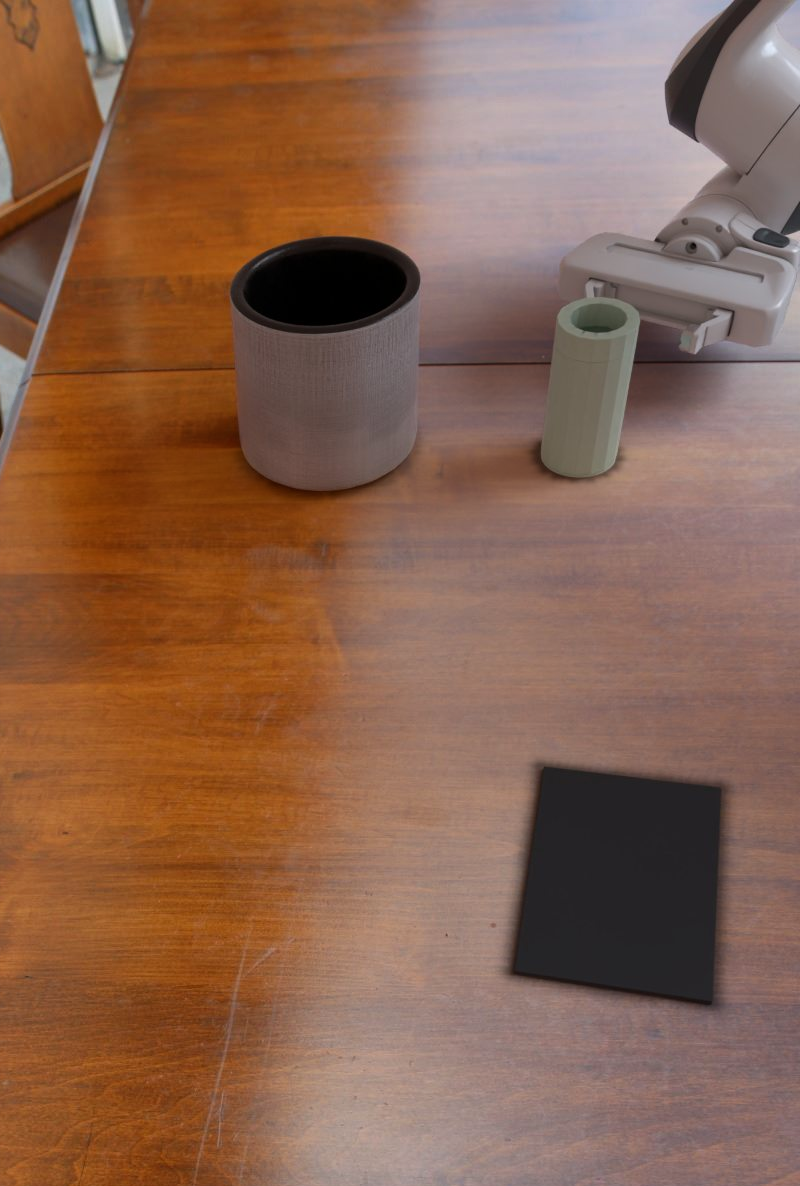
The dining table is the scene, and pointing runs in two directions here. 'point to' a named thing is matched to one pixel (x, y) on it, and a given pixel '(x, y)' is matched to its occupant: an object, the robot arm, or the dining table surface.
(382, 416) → the planter
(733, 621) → the dining table surface
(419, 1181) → the dining table surface
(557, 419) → the green hollow cylinder
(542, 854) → the mat
